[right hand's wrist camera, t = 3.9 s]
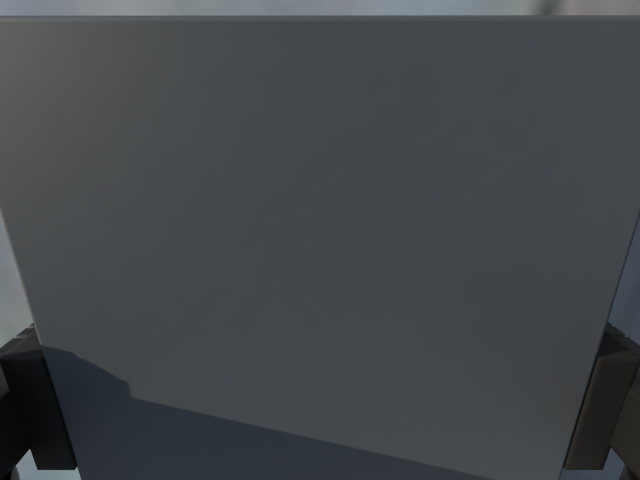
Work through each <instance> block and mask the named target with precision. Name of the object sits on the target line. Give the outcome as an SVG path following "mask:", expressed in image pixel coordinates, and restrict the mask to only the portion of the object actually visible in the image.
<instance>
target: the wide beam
mask: <svg viewBox="0 0 640 480" xmlns="http://www.w3.org/2000/svg"><path fill="white" fill-rule="evenodd" d="M0 214H1V217H2V220H3V223H4V227H5V230H6V233H7V237H8V240H9V243H10V246H11V250H12V253H13V256H14V260H15V263H16V266H17V269H18V273H19V276H20V279H21V283H22V286H23V289H24V293H25V296H26V299H27V302H28V306H29V309H30V312H31V316H32V319H33V322H34V325H35V329H36V332H37V335H38V339H39V342H40V345H41V348H42V352H43V355H44V358H45V362H46V365H47V368H48V371H49V375H50V378H51V381H52V385H53V388H54V391H55V395H56V398H57V401H58V404H59V408H60V411H61V414H62V418H63V421H64V424H65V427H66V431H67V434H68V437H69V441H70V444H71V447H72V450H73V454H74V457H75V460H76V464H77V467H78V470H79V473H80V477H81V480H559V479H560V476H561V473H562V469H563V466H564V463H565V460H566V456H567V453H568V450H569V446H570V443H571V440H572V437H573V433H574V430H575V427H576V423H577V420H578V417H579V414H580V410H581V407H582V404H583V400H584V397H585V394H586V391H587V387H588V384H589V381H590V377H591V374H592V371H593V368H594V364H595V361H596V358H597V354H598V351H599V348H600V345H601V341H602V338H603V335H604V331H605V328H606V325H607V322H608V318H609V315H610V312H611V308H612V305H613V302H614V299H615V295H616V292H617V289H618V285H619V282H620V279H621V276H622V272H623V269H624V266H625V262H626V259H627V256H628V252H629V249H630V246H631V243H632V239H633V236H634V233H635V229H636V226H637V223H638V220H639V216H640V15H519V16H0Z"/></svg>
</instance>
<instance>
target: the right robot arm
mask: <svg viewBox="0 0 640 480" xmlns="http://www.w3.org/2000/svg"><path fill="white" fill-rule="evenodd" d="M610 448H612V449H613V450H614V451H615V452H616V454H617V455H618V456H619V457H620V458H621V459H622V461H623V462H624V463H625V465H624V468H623V470H622V473H621V475H620V478H619V480H640V346H639V345H638V344H637V343H635V342H634V341H633V340H631V339H630V338H629V337H625V334H623V333H622V332H621V331H619V330H618V329H617V328H615V327H612V326H611V324H610V323H609V322H607V325H606V328H605V331H604V335H603V338H602V341H601V345H600V348H599V351H598V354H597V358H596V361H595V364H594V368H593V371H592V374H591V377H590V381H589V384H588V387H587V391H586V394H585V397H584V400H583V404H582V407H581V410H580V414H579V417H578V420H577V423H576V427H575V430H574V433H573V437H572V440H571V443H570V446H569V450H568V453H567V456H566V460H565V463H564V466H563V467H564V468H565V470H603V467H604V465H605V462H606V459H607V456H608V453H609V451H610ZM29 449H30V450H31V452H32V455H33V458H34V461H35V464H36V467H37V469H38V470H75V469H76V467H77V464H76V460H75V457H74V454H73V450H72V447H71V444H70V441H69V437H68V434H67V431H66V427H65V424H64V421H63V418H62V414H61V411H60V408H59V404H58V401H57V398H56V395H55V391H54V388H53V385H52V381H51V378H50V375H49V371H48V368H47V365H46V362H45V358H44V355H43V352H42V348H41V345H40V342H39V339H38V335H37V332H36V329H35V325H34V323H33V324H31V325H30V326H29V328H26V329H25V330H23V331H22V332H21V333H19V334H18V335H17V336H16V339H12V340H10V341H9V342H8V343H6V344H5V345H4V346H2V347H1V348H0V480H20V479H19V473H18V470H17V468H16V464H17V463H18V462H19V461H20V460H21V458H22V457H23V456H24V455H25V454H26V453H27V451H28V450H29Z"/></svg>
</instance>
